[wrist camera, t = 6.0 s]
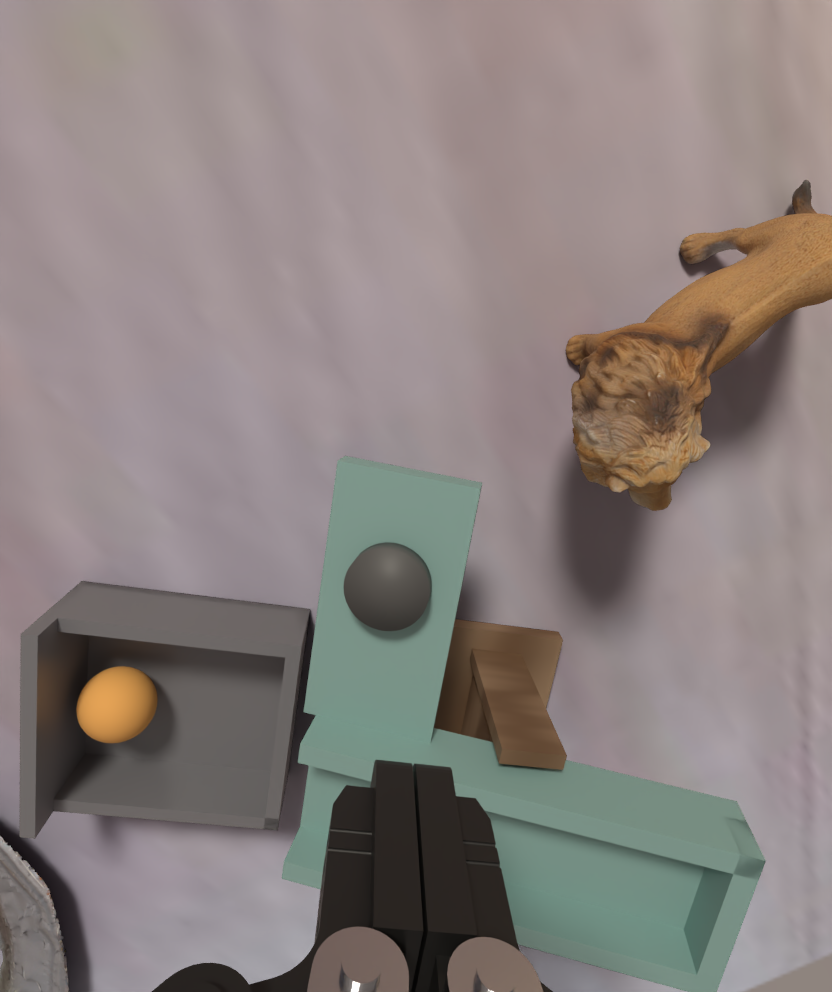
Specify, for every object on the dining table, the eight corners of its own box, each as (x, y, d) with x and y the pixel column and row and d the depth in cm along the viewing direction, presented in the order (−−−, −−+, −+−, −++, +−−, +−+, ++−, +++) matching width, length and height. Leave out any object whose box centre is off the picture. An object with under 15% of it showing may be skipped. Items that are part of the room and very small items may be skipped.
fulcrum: (558, 631, 30) (621, 737, 22) (516, 804, 33) (559, 951, 25) (436, 616, 29) (457, 719, 22) (402, 793, 32) (411, 941, 24)
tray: (310, 609, 29) (297, 665, 24) (287, 775, 31) (271, 857, 26) (81, 580, 28) (20, 634, 23) (76, 755, 30) (19, 837, 25)
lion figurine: (582, 485, 28) (673, 555, 20) (499, 406, 27) (557, 444, 18) (834, 230, 26) (1063, 182, 17) (756, 132, 25) (959, 28, 16)
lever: (825, 550, 21) (871, 580, 18) (692, 928, 25) (714, 998, 22) (345, 456, 22) (322, 470, 20) (294, 821, 26) (269, 875, 24)
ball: (152, 693, 26) (67, 692, 25) (148, 759, 27) (65, 760, 26) (164, 653, 29) (88, 651, 28) (160, 713, 30) (86, 713, 29)
